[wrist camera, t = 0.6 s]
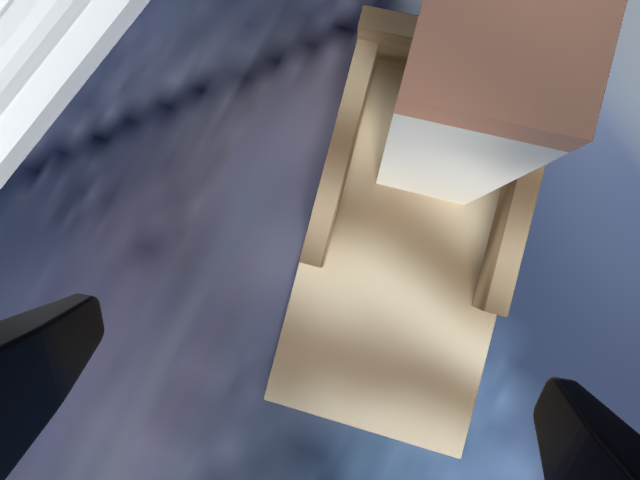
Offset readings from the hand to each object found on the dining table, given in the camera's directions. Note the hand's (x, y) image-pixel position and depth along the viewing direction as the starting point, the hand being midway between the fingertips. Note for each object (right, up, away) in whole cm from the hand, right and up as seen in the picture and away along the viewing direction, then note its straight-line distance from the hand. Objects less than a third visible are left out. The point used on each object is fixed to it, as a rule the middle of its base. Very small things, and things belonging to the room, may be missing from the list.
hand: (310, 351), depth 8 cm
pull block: (+6, +7, +12) cm, 15 cm away
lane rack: (+5, +2, +13) cm, 14 cm away
